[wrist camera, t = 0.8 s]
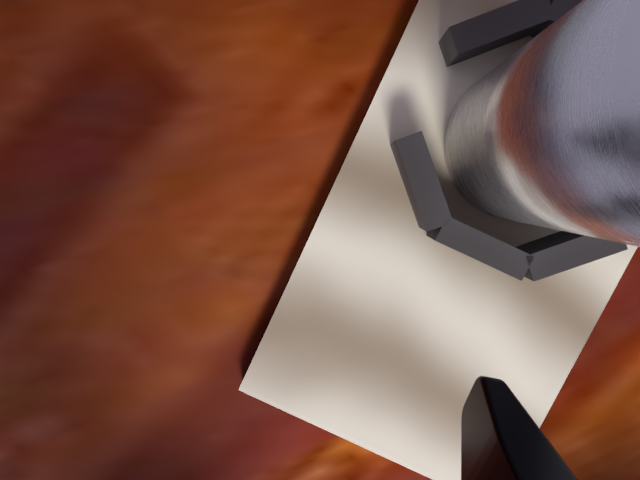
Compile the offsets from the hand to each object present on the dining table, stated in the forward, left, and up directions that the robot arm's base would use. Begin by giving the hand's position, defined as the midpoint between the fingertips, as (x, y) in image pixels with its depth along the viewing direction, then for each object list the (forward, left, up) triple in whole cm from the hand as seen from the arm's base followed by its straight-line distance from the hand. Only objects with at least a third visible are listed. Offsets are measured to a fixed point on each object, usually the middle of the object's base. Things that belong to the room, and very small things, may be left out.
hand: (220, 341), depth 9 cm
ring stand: (-2, -7, -13) cm, 15 cm away
